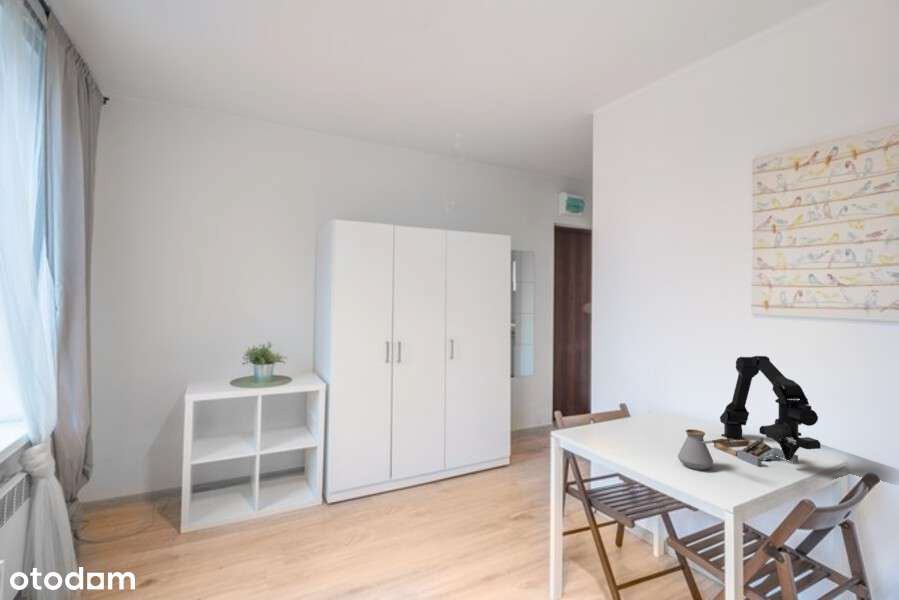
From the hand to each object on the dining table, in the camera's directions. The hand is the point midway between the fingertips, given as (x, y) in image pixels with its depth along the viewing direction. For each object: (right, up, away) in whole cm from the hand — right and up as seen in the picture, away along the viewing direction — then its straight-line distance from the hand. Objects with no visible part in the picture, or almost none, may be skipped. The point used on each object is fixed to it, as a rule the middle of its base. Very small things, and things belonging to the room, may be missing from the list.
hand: (788, 460), depth 154 cm
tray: (-3, -3, +19) cm, 20 cm away
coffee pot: (-31, -4, -2) cm, 31 cm away
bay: (-1, -3, +8) cm, 9 cm away
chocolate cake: (-3, -4, +11) cm, 12 cm away
